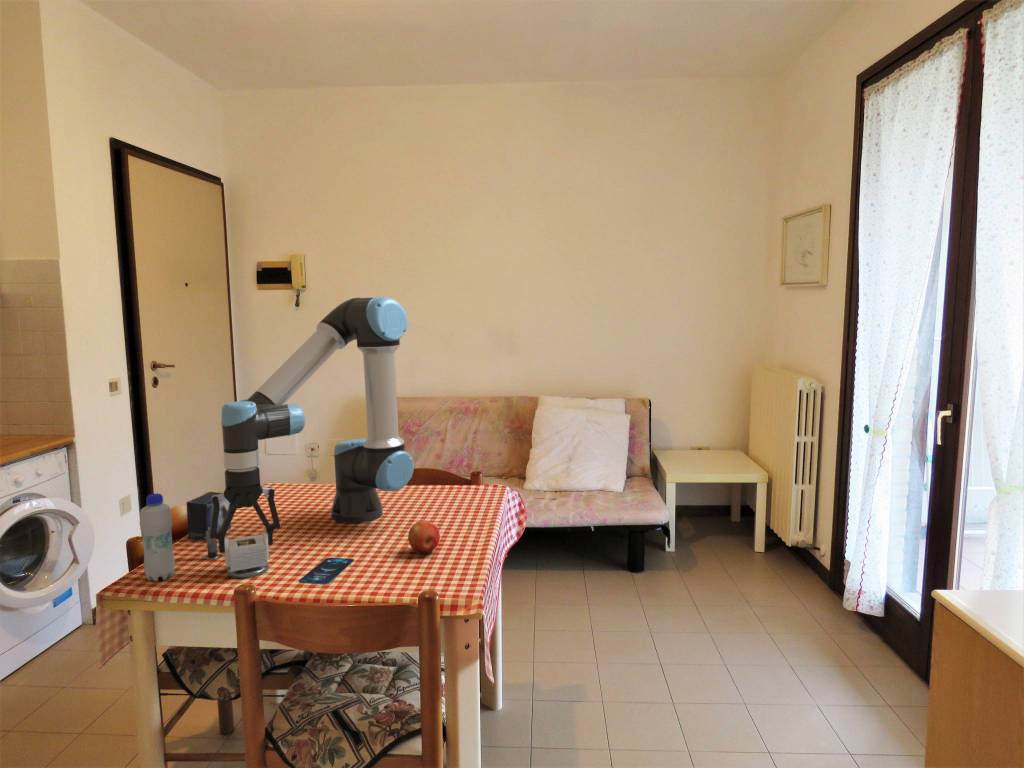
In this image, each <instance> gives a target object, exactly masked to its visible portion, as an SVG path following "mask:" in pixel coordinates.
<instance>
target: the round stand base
mask: <svg viewBox="0 0 1024 768" xmlns="http://www.w3.org/2000/svg"><path fill="white" fill-rule="evenodd" d="M268 570H269V562H268V561H267V565H266V566H260V567H255V568H249V569H243V570H238V571H232V572H231V571H230V567H227V576H228V577H230V578H232V579H233V578H234V579H237V580H238V579H243V580H244V579H248V578H254V577H258V576H260V575H263V574H265V573H266V572H267V571H268Z"/></svg>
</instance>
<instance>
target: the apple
mask: <svg viewBox="0 0 1024 768" xmlns="http://www.w3.org/2000/svg"><path fill="white" fill-rule="evenodd" d="M407 536H408V537H407V538H408V539H407V540H408V544H409V545H410V547H411V548H412V550H413V551H414V552H416V553H418V554H421V555H424V554H429V553H431V552H432V551H434V550H435V549H436V548H437V547H438V545H439V544H440V540H441V535H440V531H439V529H438V527H437V526H436V524H435V523H433V522H431V521H429V520H425V519H424V520H423V519H421V520H418V521H417V522H415V523H413V524H412V526H411V527H410V528H409V531H408V535H407Z"/></svg>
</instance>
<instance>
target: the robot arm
mask: <svg viewBox="0 0 1024 768" xmlns="http://www.w3.org/2000/svg"><path fill="white" fill-rule="evenodd" d="M407 329H408V317H407V313H406V311H405V308H404V307H403V306H402V305H401V304H400V303H399V302H398V301H397V300H395V299H393V298H392V297H391V298H390V297H384V296H383V297H382V296H376V297H353V298H350V299H349V298H348V299H347V300H344V302H341V303H340V304H338V305H337V306H336V307H335V308H333V309H332V310H331V311H330V312H329V313H328V314H326V316H324V317H323V319H322V320H320V321H319V322H318V323H317V324H316V330H315V331H314V333H313V334H312V335H311V336H310V337H309V338H308V339H307V340H306V341H305V342H303V343H302V345H301V346H300V347H299V348H297V350H296V351H295V352H293V353H292V355H291V356H290V357H289V358H287V360H285V362H283V363H282V364H281V366H279V368H278V369H276V371H274V372H273V373H272V374H271V375H270V376H269V377H268V378H267V380H266V381H265V382H263V384H261V386H260V387H258V388H257V390H256V391H254V392H253V393H252V394H251V395H250V396H249V398H248V399H241V400H239V401H231V402H226V403H225V404H224V405H222V407H221V423H220V424H221V430H222V444H223V446H222V447H223V462H224V466H223V467H224V468H225V471H224V482H225V483H224V484H225V489H224V491H223V492H221V493H222V494H218V495H216V494H213V495H212V501H213V511H212V519H211V526H210V538H211V539H216V540H218V550H219V554H224V564H225V567H226V568H229V567H230V566H229V548H228V540H229V537H228V536H227V533H228V530H229V529H228V528H229V526H230V523H231V524H232V520H233V518H234V516H235V513H236V512H237V509H238V510H239V509H242V508H252V507H253V508H254V511H255V512H256V514H257V515H258V517H259V519H260V521H261V522H262V524H263V526H264V528H265V529H264V530H262V536H263V538H264V540H265V542H266V545H267V561H269V560H270V551H269V550H270V549H269V546H271V545H273V544H274V537H273V532H274V531H275V530H278V529H280V528H281V523H280V519H279V515H278V510H277V507H276V502H275V492H276V490H275V489H274V488H273V487H272V486H269V487H267V488H266V487H262V485H261V474H260V473H261V472H260V468H259V465H260V457H259V456H260V455H259V441H260V440H261V441H262V440H267V439H274V438H281V437H285V436H286V437H287V436H289V437H290V436H292V435H295V434H299V433H301V432H302V431H303V430H304V428H305V426H306V416H305V412H304V410H303V408H302V407H301V406H300V405H298V404H295V403H290V404H288V403H287V402H288V400H289V399H291V398H292V396H293V395H294V394H295V393H296V392H297V391H298V390H300V388H301V387H302V386H303V385H304V384H305V383H306V382H307V381H308V380H309V379H310V378H311V377H312V376H313V375H314V374H315V372H317V370H318V369H319V368H321V366H323V365H324V363H326V362H327V361H328V359H329V358H331V356H332V355H333V354H334V353H335V352H336V351H337V350H343V349H344V348H345V347H346V346H348V344H349V343H352V342H353V341H356V348H357V349H358V350H360V352H361V353H362V355H363V356H362V357H363V372H364V373H363V375H364V390H365V392H364V393H365V395H364V396H365V409H366V430H367V437H365V438H364V437H363V438H353V439H348V440H343V441H339V442H337V443H336V444H335V445H334V449H333V450H334V453H333V458H334V472H335V495H334V498H333V502H332V505H331V508H330V516H331V517H330V519H331V520H333V521H334V522H336V523H342V524H360V523H366V522H371V521H374V520H377V519H379V518H381V517H382V515H383V514H384V511H383V509H384V508H383V504H382V502H381V498H380V496H379V494H378V491H377V490H380V491H382V492H390V493H391V492H398V491H400V490H402V489H403V488H405V487H406V486H407V485H408V482H409V481H411V479H412V477H413V474H414V470H415V469H414V468H415V462H414V459H413V457H412V456H411V455H410V454H409V452H406V448H405V447H406V446H405V445H406V444H405V440H404V439H403V438H402V437H400V434H399V416H398V415H399V413H398V412H399V411H398V397H397V396H398V394H397V393H398V392H397V391H398V390H397V376H396V375H397V373H396V355H395V353H396V351H397V350H398V349H399V348H400V346H401V345H400V344H401V343H400V342H401V341H400V339H401V338H402V337H403V336H404V335H405V332H407ZM286 403H287V404H286ZM262 494H264V497H265V498H266V500H267V503H268V507H269V511H270V514H271V519H272V523H270V522H269V520H268V519H267V517H266V515H265V513H264V512H263V510H262V508H261V506H260V504H259V503H258V500H259V499H260V497H261V496H262ZM224 498H226V499H227V500H228V501H229V502H230V505H229V508H228V511H227V514H226V516H225V519H224V521H223V524H222V526H221V529H220V531H219V532H217V525H218V517H219V510H220V505H219V504H221V503H222V501H223V499H224Z"/></svg>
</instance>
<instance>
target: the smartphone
mask: <svg viewBox="0 0 1024 768" xmlns="http://www.w3.org/2000/svg"><path fill="white" fill-rule="evenodd" d="M354 562H355V559H354V558H344V557H326V558H325V559H324V560H322V561H321V562H319V564H317V565H316V566H315V567H313V568H312V569H310V570H309V571H308V572H307V573H306V574H305V575H303V576H302V577H300V578H299V580H298V582H299V583H300V584H314V585H329V584H330V583H332V582H333V581H334V580H336V578H338V576H339V575H341V574H342V573H343V572H344V571H345V570H346V569H348V567H349V566H350V565H351V564H353V563H354Z"/></svg>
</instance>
